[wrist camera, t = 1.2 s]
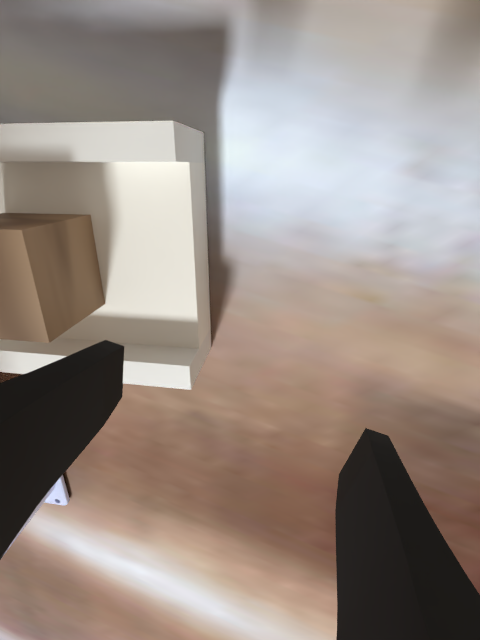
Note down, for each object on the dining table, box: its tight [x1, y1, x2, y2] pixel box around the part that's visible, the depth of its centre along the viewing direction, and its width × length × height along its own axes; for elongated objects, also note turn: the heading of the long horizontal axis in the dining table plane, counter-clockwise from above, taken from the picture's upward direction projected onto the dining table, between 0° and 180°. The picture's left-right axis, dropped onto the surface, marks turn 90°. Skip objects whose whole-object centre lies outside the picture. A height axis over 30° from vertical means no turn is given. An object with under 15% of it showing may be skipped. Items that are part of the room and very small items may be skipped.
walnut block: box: [0, 213, 105, 343], centre depth 17 cm, size 5×5×5 cm
